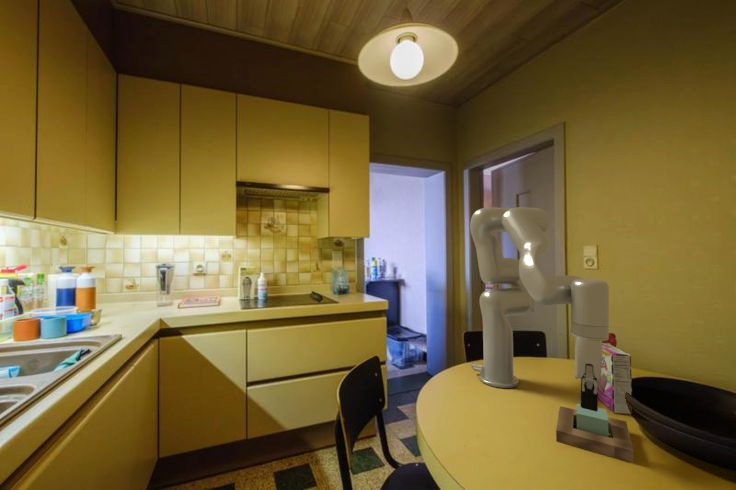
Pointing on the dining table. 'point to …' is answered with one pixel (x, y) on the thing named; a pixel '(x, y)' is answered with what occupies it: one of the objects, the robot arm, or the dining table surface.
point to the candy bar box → (615, 379)
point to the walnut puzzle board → (595, 436)
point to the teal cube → (592, 421)
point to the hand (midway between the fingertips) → (588, 400)
